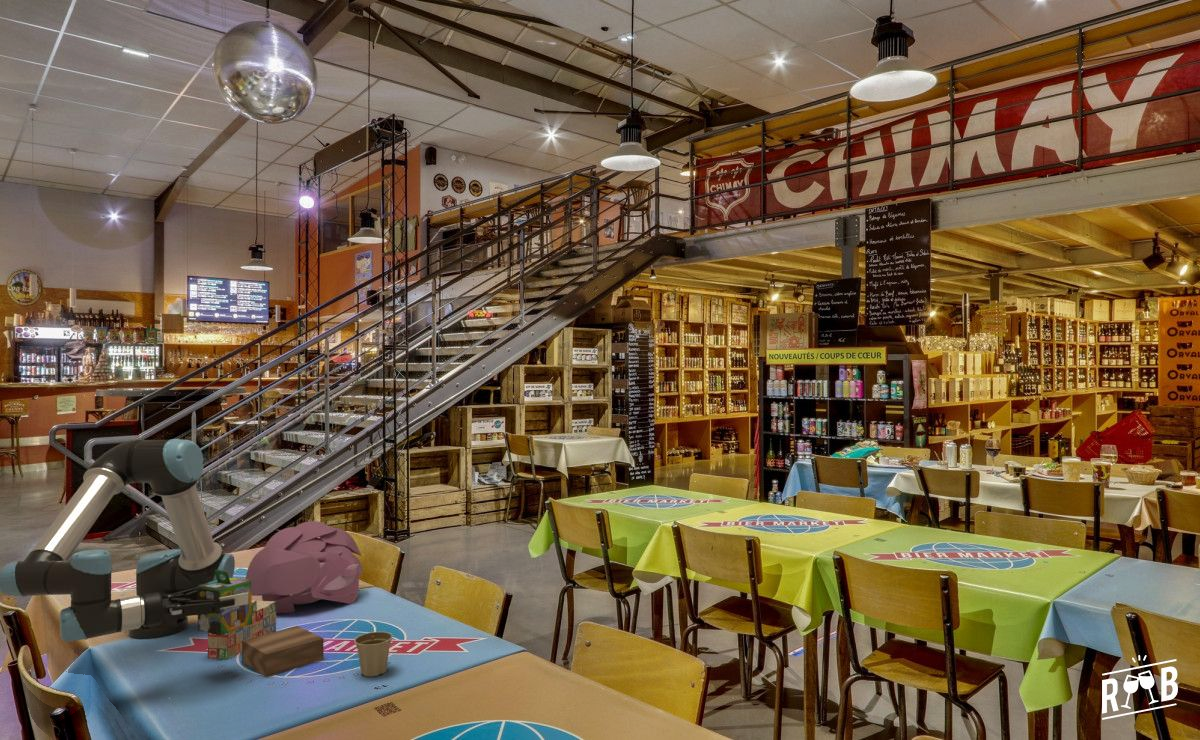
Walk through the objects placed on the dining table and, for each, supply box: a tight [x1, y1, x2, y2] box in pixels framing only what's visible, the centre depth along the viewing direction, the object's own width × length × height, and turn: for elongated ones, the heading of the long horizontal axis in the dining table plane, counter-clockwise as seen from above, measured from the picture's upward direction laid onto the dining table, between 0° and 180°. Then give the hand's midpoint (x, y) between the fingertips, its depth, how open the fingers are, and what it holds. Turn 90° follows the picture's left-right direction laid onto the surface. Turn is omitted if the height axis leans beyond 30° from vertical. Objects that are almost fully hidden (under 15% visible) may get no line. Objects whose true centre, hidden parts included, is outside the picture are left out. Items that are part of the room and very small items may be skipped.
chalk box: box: [197, 570, 253, 636], centre depth 180 cm, size 9×9×15 cm
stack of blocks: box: [207, 599, 277, 660], centre depth 201 cm, size 21×6×12 cm, turn 171°
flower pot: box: [353, 631, 394, 677], centre depth 181 cm, size 9×9×9 cm
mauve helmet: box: [245, 520, 364, 614], centre depth 239 cm, size 36×24×29 cm
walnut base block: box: [241, 625, 325, 678], centre depth 189 cm, size 15×15×6 cm
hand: (241, 592), depth 183 cm, fingers closed on chalk box, 11 cm apart
